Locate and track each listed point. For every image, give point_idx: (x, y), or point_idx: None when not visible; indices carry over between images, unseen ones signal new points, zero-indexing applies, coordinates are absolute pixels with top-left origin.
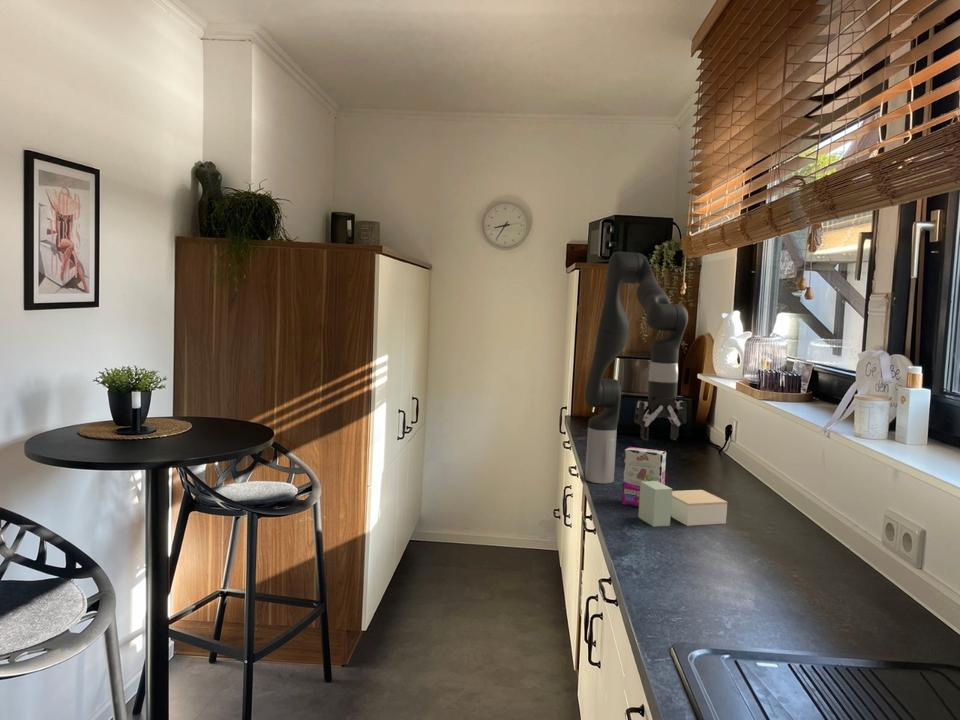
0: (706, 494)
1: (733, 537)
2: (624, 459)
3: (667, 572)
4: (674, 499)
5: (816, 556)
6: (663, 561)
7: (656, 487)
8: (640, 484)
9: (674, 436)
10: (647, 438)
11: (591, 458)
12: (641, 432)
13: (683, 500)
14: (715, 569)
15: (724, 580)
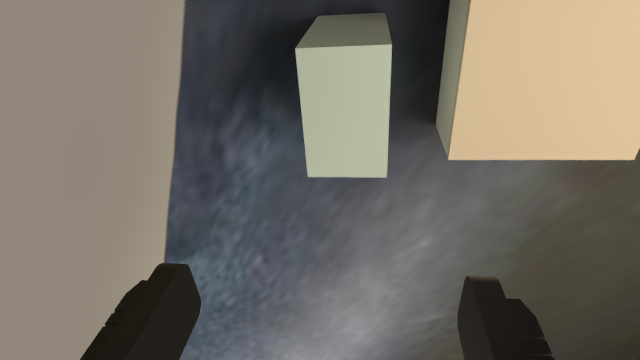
0: None
1: (498, 221)
2: None
3: (240, 320)
4: (459, 59)
5: (580, 327)
6: (251, 290)
7: (326, 152)
8: (297, 45)
9: (464, 349)
10: (187, 322)
11: None
12: (112, 333)
13: (458, 122)
14: (327, 327)
15: (317, 352)
